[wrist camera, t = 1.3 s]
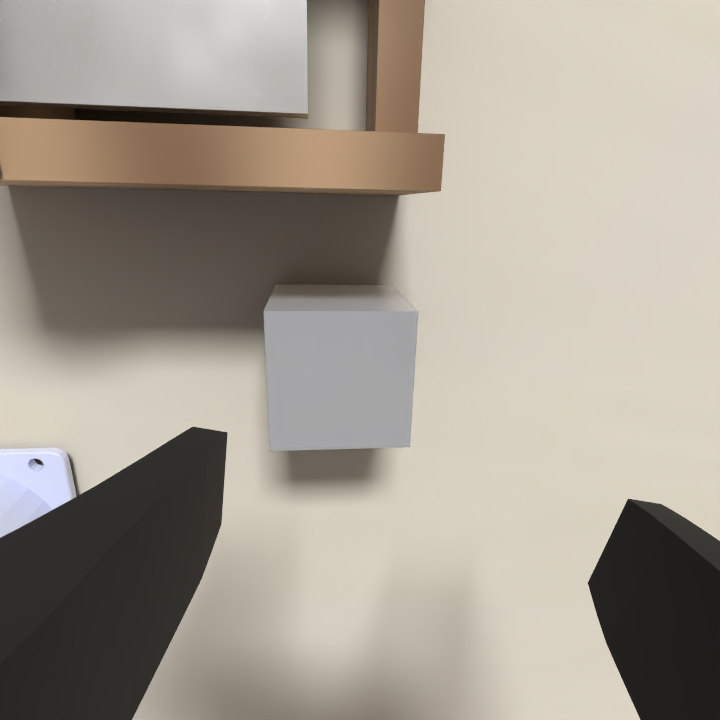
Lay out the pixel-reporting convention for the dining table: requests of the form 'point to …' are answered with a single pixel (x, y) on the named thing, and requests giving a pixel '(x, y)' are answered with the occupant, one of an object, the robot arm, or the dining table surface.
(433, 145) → the frame
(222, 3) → the trapdoor
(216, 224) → the dining table surface
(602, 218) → the dining table surface
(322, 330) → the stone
